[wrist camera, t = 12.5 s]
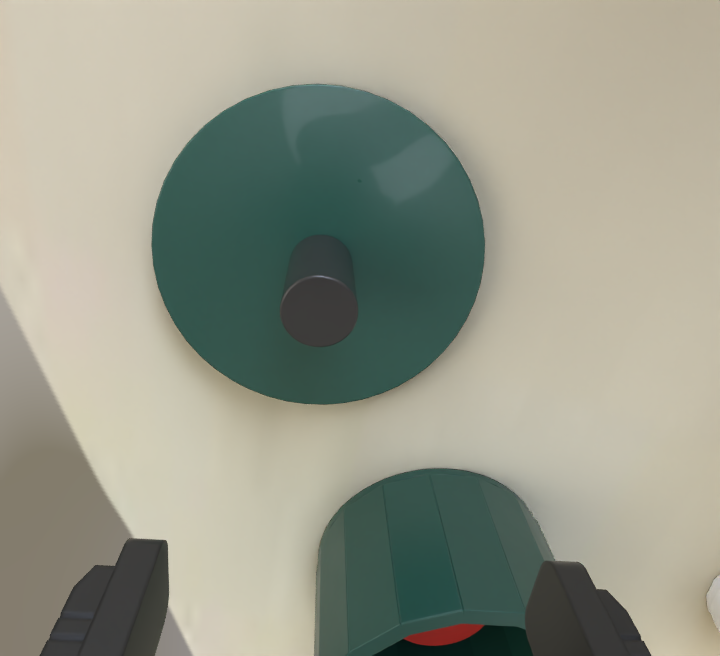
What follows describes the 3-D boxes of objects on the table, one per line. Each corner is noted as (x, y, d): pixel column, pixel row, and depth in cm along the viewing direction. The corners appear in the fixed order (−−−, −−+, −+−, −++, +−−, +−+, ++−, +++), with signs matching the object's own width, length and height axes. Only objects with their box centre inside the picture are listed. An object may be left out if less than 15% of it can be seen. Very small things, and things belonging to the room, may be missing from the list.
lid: (512, 111, 22) (576, 125, 16) (443, 403, 27) (473, 489, 22) (157, 57, 20) (91, 52, 15) (161, 377, 26) (114, 462, 20)
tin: (565, 477, 30) (647, 619, 22) (507, 635, 35) (557, 795, 27) (331, 458, 28) (332, 603, 21) (307, 625, 34) (301, 790, 26)
